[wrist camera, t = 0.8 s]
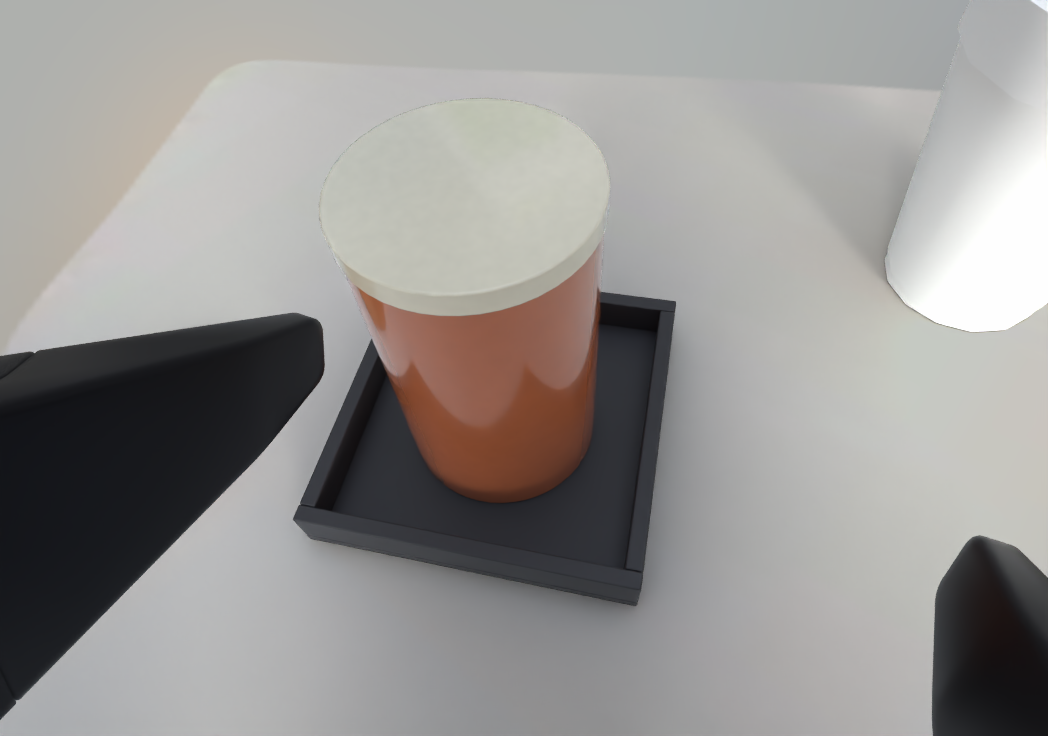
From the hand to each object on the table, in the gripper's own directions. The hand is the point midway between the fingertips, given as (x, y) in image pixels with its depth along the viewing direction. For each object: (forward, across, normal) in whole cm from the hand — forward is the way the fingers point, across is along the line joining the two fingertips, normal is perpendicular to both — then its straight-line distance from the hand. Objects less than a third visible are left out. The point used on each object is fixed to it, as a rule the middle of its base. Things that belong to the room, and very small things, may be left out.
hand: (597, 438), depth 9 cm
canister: (+13, +6, +10) cm, 18 cm away
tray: (+13, +6, +11) cm, 18 cm away
